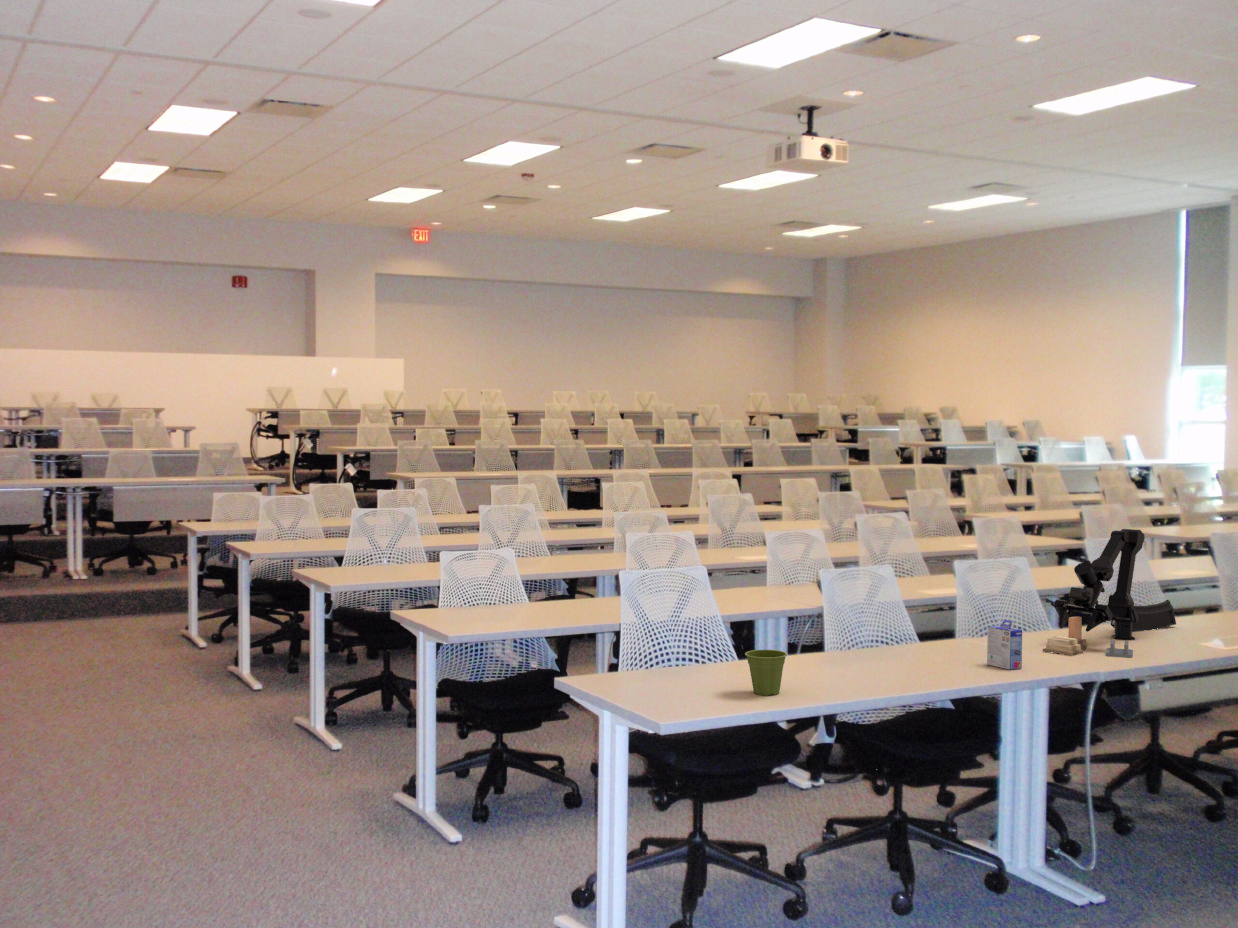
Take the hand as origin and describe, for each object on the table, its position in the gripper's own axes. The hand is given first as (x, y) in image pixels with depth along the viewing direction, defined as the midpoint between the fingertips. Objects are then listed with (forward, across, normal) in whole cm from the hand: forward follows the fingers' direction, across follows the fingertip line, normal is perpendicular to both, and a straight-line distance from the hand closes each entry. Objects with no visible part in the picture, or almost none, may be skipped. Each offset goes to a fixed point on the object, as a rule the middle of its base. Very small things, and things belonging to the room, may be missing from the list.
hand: (1073, 629), depth 384 cm
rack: (+7, 0, +3) cm, 8 cm away
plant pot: (+95, -23, -84) cm, 129 cm away
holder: (+2, +14, +8) cm, 16 cm away
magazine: (-36, -4, +46) cm, 59 cm away
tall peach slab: (+4, 0, +6) cm, 7 cm away
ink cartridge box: (+36, 0, -25) cm, 44 cm away
